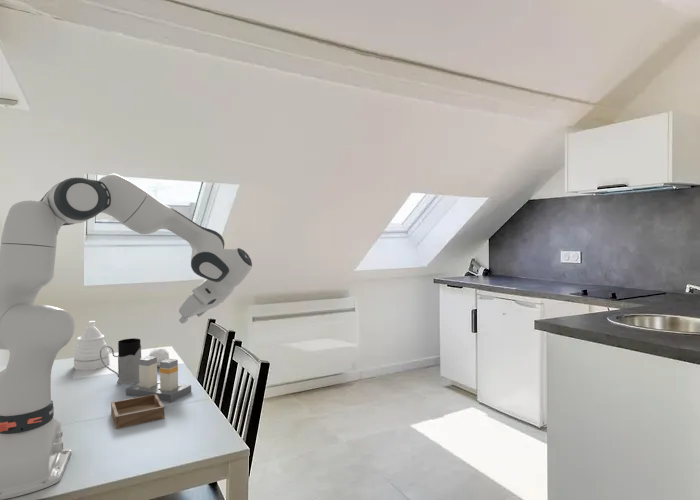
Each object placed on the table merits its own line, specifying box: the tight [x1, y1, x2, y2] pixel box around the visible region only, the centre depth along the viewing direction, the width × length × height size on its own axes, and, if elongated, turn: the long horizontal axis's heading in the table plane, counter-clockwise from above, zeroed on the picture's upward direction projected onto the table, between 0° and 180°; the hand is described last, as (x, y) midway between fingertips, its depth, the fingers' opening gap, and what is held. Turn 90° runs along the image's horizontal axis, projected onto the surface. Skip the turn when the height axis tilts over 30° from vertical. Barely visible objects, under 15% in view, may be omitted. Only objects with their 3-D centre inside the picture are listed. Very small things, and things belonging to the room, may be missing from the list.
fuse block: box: [125, 379, 192, 403], centre depth 155 cm, size 19×10×2 cm, turn 70°
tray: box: [110, 394, 166, 430], centre depth 137 cm, size 13×13×4 cm
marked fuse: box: [159, 358, 179, 392], centre depth 154 cm, size 4×4×12 cm
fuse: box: [138, 355, 158, 389], centre depth 157 cm, size 4×4×12 cm
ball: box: [148, 347, 170, 368], centre depth 186 cm, size 8×8×8 cm
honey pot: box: [73, 320, 111, 371], centre depth 187 cm, size 13×13×18 cm
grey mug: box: [100, 337, 142, 385], centre depth 168 cm, size 9×14×15 cm, turn 112°
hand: (190, 318), depth 150 cm, fingers open, 8 cm apart
